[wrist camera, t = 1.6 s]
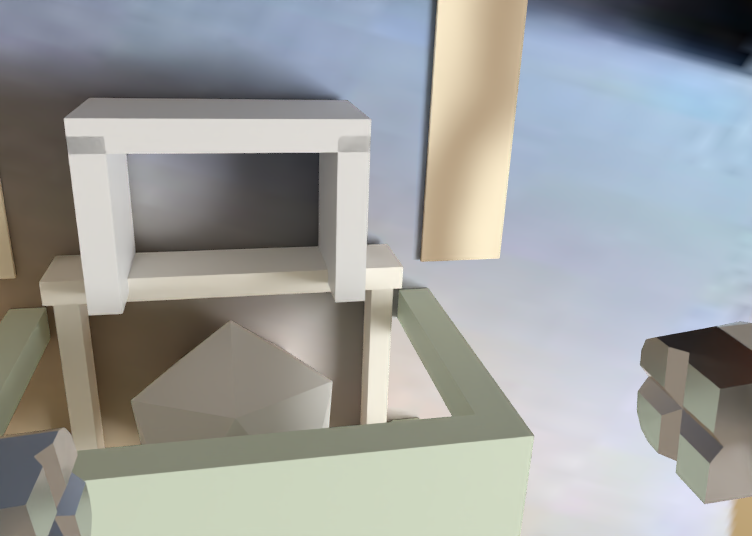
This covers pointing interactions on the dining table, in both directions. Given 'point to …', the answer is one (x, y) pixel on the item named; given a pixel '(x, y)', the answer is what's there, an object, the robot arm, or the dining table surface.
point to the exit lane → (453, 131)
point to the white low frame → (214, 267)
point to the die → (232, 392)
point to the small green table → (314, 458)
